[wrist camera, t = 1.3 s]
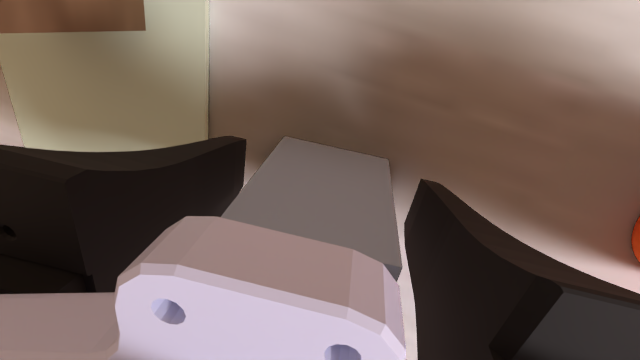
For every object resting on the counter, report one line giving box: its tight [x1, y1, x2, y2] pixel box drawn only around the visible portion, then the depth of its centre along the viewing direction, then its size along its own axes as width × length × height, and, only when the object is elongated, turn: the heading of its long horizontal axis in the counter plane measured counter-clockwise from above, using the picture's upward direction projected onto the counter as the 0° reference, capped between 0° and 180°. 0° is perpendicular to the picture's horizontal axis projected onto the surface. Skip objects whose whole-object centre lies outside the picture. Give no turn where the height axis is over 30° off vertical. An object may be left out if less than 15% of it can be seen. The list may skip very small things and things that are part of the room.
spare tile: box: [221, 136, 402, 282], centre depth 10 cm, size 2×4×6 cm, turn 80°
